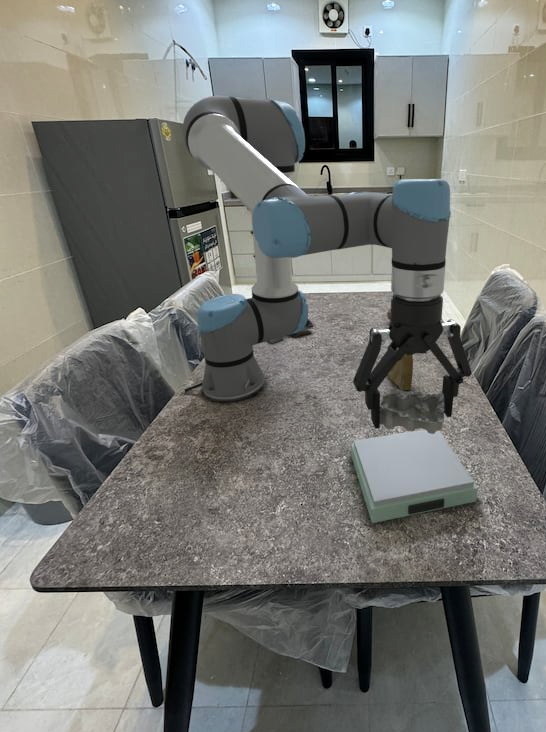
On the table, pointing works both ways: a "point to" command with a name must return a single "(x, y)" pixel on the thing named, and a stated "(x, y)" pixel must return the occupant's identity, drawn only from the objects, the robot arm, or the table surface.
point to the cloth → (302, 332)
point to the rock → (402, 372)
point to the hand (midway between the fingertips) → (411, 418)
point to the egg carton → (412, 410)
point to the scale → (410, 474)
